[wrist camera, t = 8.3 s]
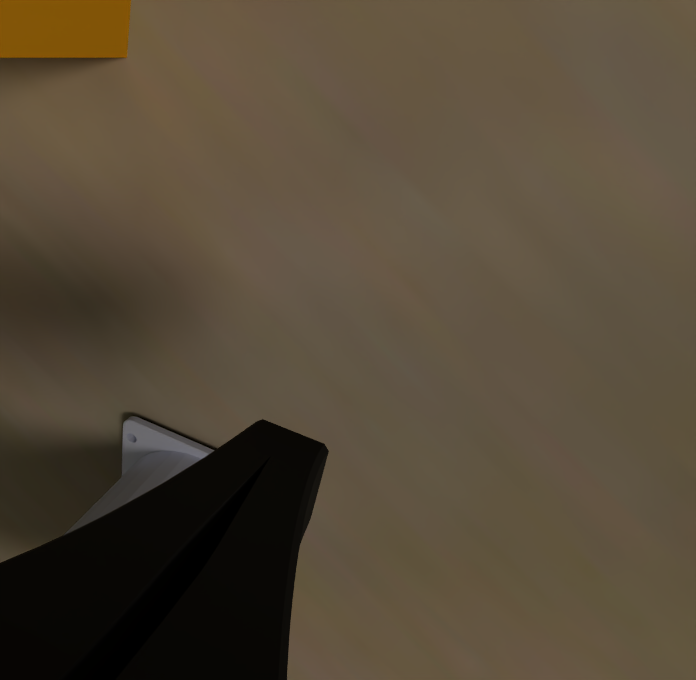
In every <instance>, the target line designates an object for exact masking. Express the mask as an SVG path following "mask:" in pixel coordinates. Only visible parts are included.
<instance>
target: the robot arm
mask: <svg viewBox="0 0 696 680" xmlns="http://www.w3.org/2000/svg"><path fill="white" fill-rule="evenodd" d="M328 452H329V451H328V449H327V447H326V446H325V444H323V443H321V442H318V441H316V440H313V439H311V438H308V437H306V436H303V435H301V434H298V433H296V432H293V431H291V430H288V429H286V428H283V427H281V426H278V425H276V424H273V423H271V422H268V421H266V420H263V419H262V420H260V421H257V422H255V423H254V424H252V425H251V426H250V427H248V428H247V429H245V430H244V431H243V432H241V433H240V434H238V435H237V436H235V437H234V438H233V439H231V440H230V441H228V442H227V443H225V444H224V445H222V446H221V447H219V448H218V449H216V450H212V449H210V448H208V447H206V446H203V445H201V444H199V443H196V442H194V441H192V440H189V439H187V438H185V437H182V436H180V435H178V434H175V433H173V432H171V431H169V430H166V429H164V428H162V427H159V426H157V425H155V424H152V423H150V422H148V421H145V420H143V419H141V418H138V417H135V416H131V417H129V418H128V419H127V420H126V421H124V423H123V443H122V477H121V478H120V479H119V480H118V481H117V482H116V483H115V484H114V485H113V486H112V487H111V488H110V489H109V490H108V491H107V492H106V493H105V494H104V495H103V496H102V497H101V498H100V499H99V500H98V501H97V502H96V503H95V504H94V505H93V506H92V507H91V508H90V509H89V510H88V511H87V512H86V513H85V514H84V515H83V516H82V517H81V518H80V519H79V520H78V521H77V522H76V523H75V524H74V525H73V526H72V527H71V528H70V529H69V530H68V531H67V532H66V533H65V534H64V535H63V536H61V537H59V538H57V539H54V540H52V541H50V542H48V543H46V544H44V545H41V546H39V547H37V548H35V549H32V550H30V551H27V552H25V553H23V554H20V555H18V556H15V557H13V558H11V559H8V560H6V561H3V562H1V563H0V680H287V664H288V648H289V632H290V620H291V609H292V599H293V590H294V582H295V573H296V566H297V559H298V552H299V546H300V543H301V540H302V538H303V535H304V533H305V531H306V528H307V526H308V523H309V521H310V519H311V515H312V511H313V508H314V504H315V500H316V496H317V493H318V489H319V485H320V482H321V478H322V474H323V470H324V467H325V463H326V459H327V456H328Z"/></svg>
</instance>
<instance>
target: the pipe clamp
mask: <svg viewBox="0 0 696 680" xmlns="http://www.w3.org/2000/svg"><path fill="white" fill-rule="evenodd" d="M130 6H131V0H0V58H127V48H128V34H129V20H130Z"/></svg>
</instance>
